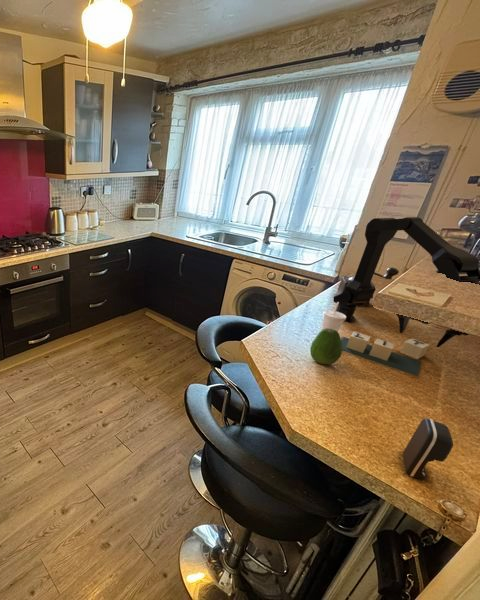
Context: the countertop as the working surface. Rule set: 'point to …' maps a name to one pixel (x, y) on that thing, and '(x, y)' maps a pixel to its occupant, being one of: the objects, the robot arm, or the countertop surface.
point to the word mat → (393, 360)
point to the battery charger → (426, 447)
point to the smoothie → (333, 319)
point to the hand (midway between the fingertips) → (418, 339)
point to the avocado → (326, 347)
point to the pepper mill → (389, 274)
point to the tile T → (414, 348)
